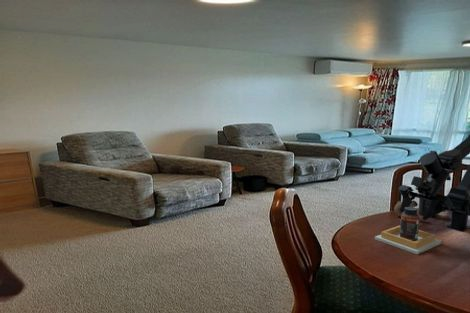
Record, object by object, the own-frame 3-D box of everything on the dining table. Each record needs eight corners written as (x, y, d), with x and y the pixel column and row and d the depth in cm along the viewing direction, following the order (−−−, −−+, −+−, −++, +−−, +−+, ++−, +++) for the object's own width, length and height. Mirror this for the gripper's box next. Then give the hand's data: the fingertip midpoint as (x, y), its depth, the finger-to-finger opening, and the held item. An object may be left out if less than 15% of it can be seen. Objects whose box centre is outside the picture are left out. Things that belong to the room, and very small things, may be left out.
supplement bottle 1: (421, 241, 135) (424, 210, 133) (405, 242, 134) (408, 211, 132) (410, 235, 141) (413, 205, 139) (396, 236, 140) (398, 206, 138)
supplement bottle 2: (437, 214, 168) (439, 187, 166) (432, 217, 163) (435, 190, 161) (420, 210, 173) (423, 185, 171) (415, 214, 168) (417, 187, 166)
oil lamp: (416, 218, 163) (418, 199, 161) (415, 220, 159) (417, 202, 158) (394, 214, 167) (395, 196, 166) (393, 217, 164) (394, 199, 163)
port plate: (399, 230, 148) (399, 222, 148) (441, 243, 136) (442, 235, 135) (374, 239, 139) (375, 231, 139) (417, 254, 126) (418, 245, 126)
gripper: (403, 163, 144) (380, 196, 141) (450, 173, 128) (426, 209, 125) (415, 181, 149) (393, 213, 146) (462, 193, 133) (439, 228, 130)
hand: (411, 215), depth 136 cm, fingers open, 9 cm apart
